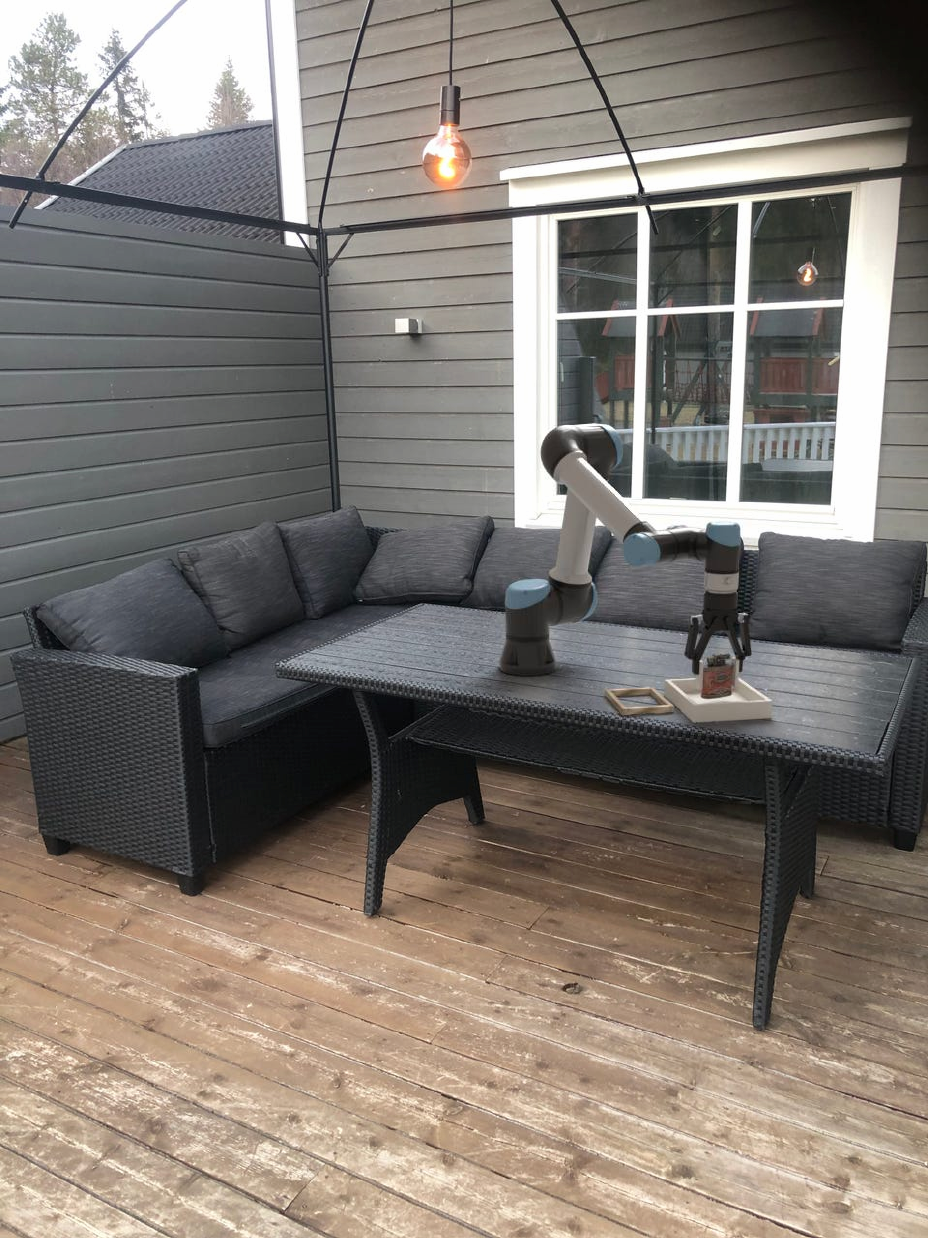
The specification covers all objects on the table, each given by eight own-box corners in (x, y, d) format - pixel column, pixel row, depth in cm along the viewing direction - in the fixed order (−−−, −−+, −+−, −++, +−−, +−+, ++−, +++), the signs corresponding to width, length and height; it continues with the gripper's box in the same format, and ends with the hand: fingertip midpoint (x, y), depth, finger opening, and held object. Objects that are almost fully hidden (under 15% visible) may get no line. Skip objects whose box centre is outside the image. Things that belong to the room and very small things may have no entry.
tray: (693, 722, 214) (694, 705, 213) (664, 695, 233) (664, 679, 232) (771, 718, 216) (772, 701, 215) (735, 691, 235) (736, 675, 234)
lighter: (706, 700, 221) (708, 658, 219) (697, 696, 224) (699, 654, 222) (734, 695, 224) (737, 653, 222) (725, 691, 227) (727, 650, 225)
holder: (622, 715, 219) (622, 709, 219) (605, 695, 234) (605, 689, 234) (673, 712, 221) (673, 706, 220) (653, 692, 235) (653, 687, 235)
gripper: (682, 595, 213) (678, 693, 219) (771, 591, 216) (766, 689, 221) (671, 588, 221) (668, 684, 226) (757, 585, 223) (752, 679, 228)
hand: (716, 686), depth 223 cm, fingers closed on lighter, 8 cm apart
